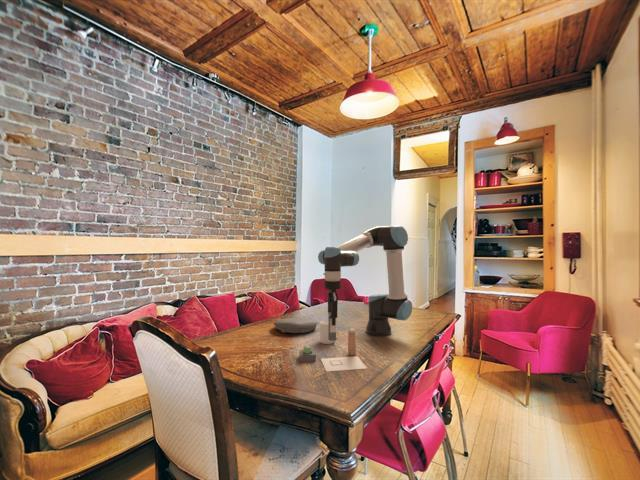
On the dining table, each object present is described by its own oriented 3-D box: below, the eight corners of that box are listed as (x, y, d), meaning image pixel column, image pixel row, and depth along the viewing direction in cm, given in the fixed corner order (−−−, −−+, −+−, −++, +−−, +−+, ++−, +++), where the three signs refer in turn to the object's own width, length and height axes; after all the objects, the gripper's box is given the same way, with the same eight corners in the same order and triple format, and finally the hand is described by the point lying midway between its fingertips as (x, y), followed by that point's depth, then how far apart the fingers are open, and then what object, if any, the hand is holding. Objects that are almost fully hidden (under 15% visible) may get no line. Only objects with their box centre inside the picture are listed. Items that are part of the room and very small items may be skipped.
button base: (313, 355, 147) (313, 349, 147) (315, 361, 140) (315, 354, 140) (299, 356, 145) (299, 350, 146) (300, 362, 139) (300, 355, 139)
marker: (334, 338, 142) (334, 311, 142) (337, 340, 138) (337, 313, 138) (327, 338, 141) (327, 312, 141) (329, 341, 137) (329, 313, 137)
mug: (333, 347, 159) (333, 326, 159) (316, 342, 167) (316, 322, 167) (343, 342, 165) (343, 323, 165) (326, 338, 173) (326, 319, 173)
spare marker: (354, 353, 149) (354, 328, 149) (356, 356, 146) (356, 330, 146) (347, 353, 149) (347, 328, 149) (349, 356, 145) (349, 330, 145)
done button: (310, 353, 145) (310, 345, 145) (312, 356, 141) (312, 348, 141) (303, 354, 144) (303, 345, 144) (303, 357, 140) (303, 348, 140)
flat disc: (326, 327, 196) (326, 320, 196) (300, 338, 172) (300, 331, 172) (292, 322, 211) (292, 315, 211) (264, 331, 187) (264, 324, 188)
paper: (357, 356, 145) (357, 356, 145) (367, 368, 131) (367, 368, 131) (320, 359, 142) (320, 358, 142) (326, 372, 128) (326, 371, 128)
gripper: (321, 278, 147) (321, 326, 147) (327, 282, 131) (327, 336, 131) (336, 278, 148) (336, 325, 148) (344, 282, 132) (344, 335, 132)
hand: (332, 330), depth 139 cm, fingers closed on marker, 3 cm apart
